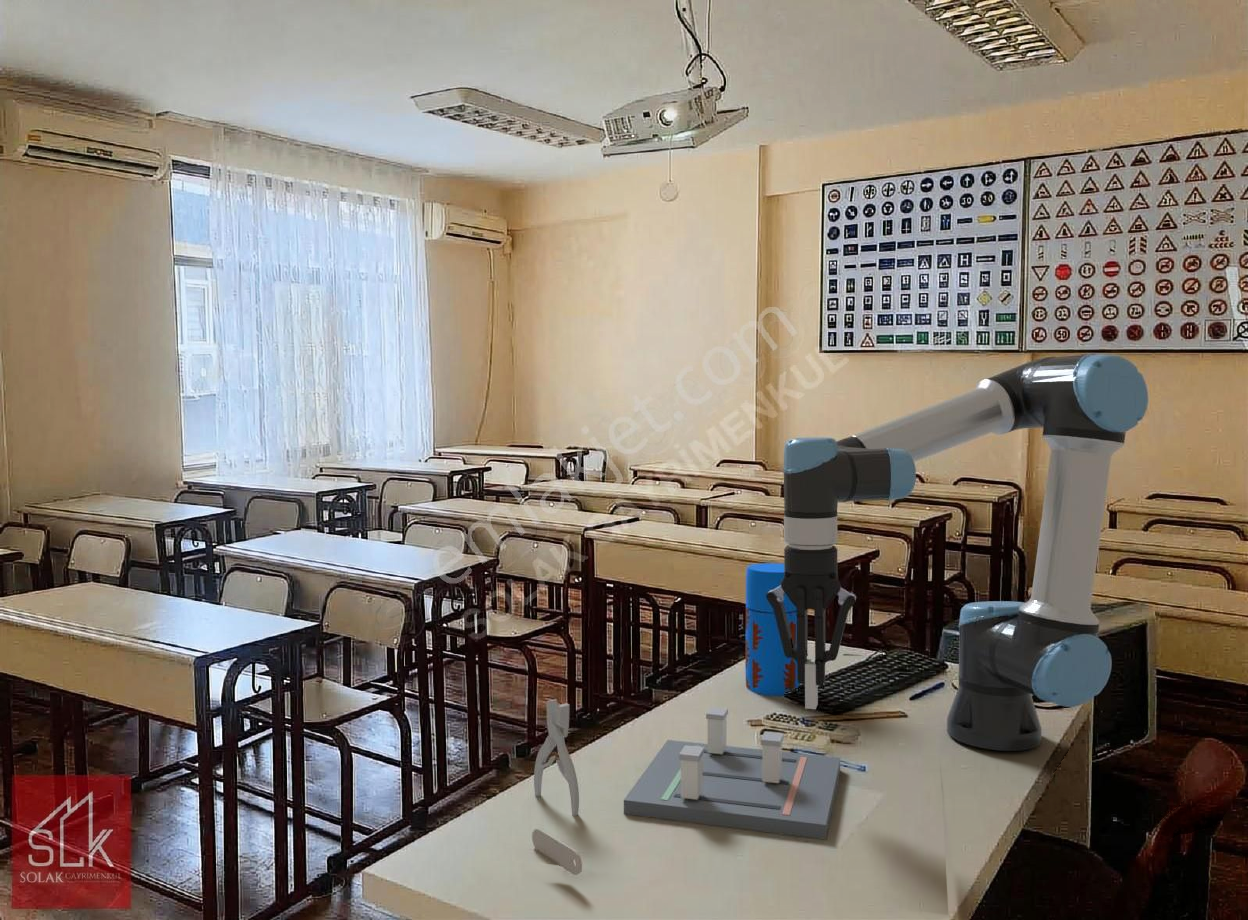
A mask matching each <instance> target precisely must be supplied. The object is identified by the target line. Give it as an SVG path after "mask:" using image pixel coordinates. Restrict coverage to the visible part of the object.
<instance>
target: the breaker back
mask: <svg viewBox="0 0 1248 920" xmlns="http://www.w3.org/2000/svg"><path fill="white" fill-rule="evenodd" d="M728 714H729V708H727V707H718V706H717V707H715V706H710V708H709V709H708V710H707V712H706V714H705V719H706V720H707V744H708V753H715V754H723V752H724V751H725V749H726V746H727V716H728Z"/></svg>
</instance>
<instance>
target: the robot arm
mask: <svg viewBox="0 0 1248 920" xmlns="http://www.w3.org/2000/svg"><path fill="white" fill-rule="evenodd" d="M1148 403H1149V392H1148V385H1147V384H1146V381H1145V378H1144V376H1143V374H1142V373H1141V372H1140V371H1139V370H1138V368H1137V366H1136V365H1135V364H1134V363H1133V362H1132V361H1130V360H1129V359H1127V358H1126V357H1125V358H1124V357H1123V356H1120V355H1117V354H1104V353H1103V354H1102V353H1089V354H1079V355H1066V356H1047V357H1042V358H1038V359H1034V360H1031V361H1028V362H1026V363H1023V364H1021V365H1018V366H1015V367H1013V368H1011V369H1007V370H1006V371H1003V372H1001V373H998V374H996V375H993V376H991V377H987V378H986V379H983V380H980V381H979V382H978V383H977V384H976V386H975V388H974V389H973V390H970V391H969V392H965V393H963V394H960V395H957V396H955V397H952V398H950V399H946V400H944V401H942V402H938V403H936V404H934V405H931V406H928V407H925V408H923V409H920V410H917V411H915V412H912V413H910V414H907V415H904V416H902V417H898V418H896V419H893V420H890V421H888V422H885V423H882V424H880V425H877V426H874V427H871V428H869V429H866V430H863V431H861V432H859V433H855V434H853V435H851V436H849V437H845V438H842V439H840V440H836V439H835V438H833V437H825V436H824V437H823V436H822V437H816V436H815V437H814V436H813V437H794V438H791V439H788V440H787V441H786V442H785V445H784V452H783V463H782V464H783V466H782V473H783V496H784V497H783V498H784V499H783V500H784V501H783V504H784V505H783V506H784V511H783V512H784V513H783V514H784V515H783V529H784V530H783V532H784V533H783V541H784V543H786V544H787V545H786V546H785V547H784V548H783V555H784V557H783V558H784V563H783V564H784V577H783V579H782V581H781V585H780V586H779V587H777V588H776V589H772V590H770V591H769V592H768V593H767V595H766V598H767V600H768V602H769V603H770V605H771V606H772V608H773V610H774V614H775V618H776V622H777V626H778V630H779V634H780V638H781V642H782V646H783V650H784V654H785V656H786V657H787V658H792V659H794V660H796V662H797V672H798V683H799V684H800V685H804V705H805V706H804V709H805V710H807V709H808V710H816V709H817V706H818V704H819V694H818V693H819V692H818V686H824V684H825V682H826V663H828V662H833V661H836V659H837V657H838V654H839V650H840V647H841V643H842V640H843V639H842V638H843V634H844V631H845V626H846V624H847V619H848V615H849V611H850V610H851V608H852V607H853V606H854V604H855V602H856V599H857V595H856V593H854V592H850V591H847V590H846V589H844V588H843V587H842V583H841V580H840V577H839V575H838V548H837V547H836V546H835V544H836V543H837V542H838V503H846V502H871V501H872V502H873V501H876V502H877V501H886V502H890V501H892V500H899V499H900V500H901V499H905V498H907V497H908V496H910V494H912V492H913V490H914V488H915V486H916V481H917V478H916V477H917V468H916V464H915V462H918V461H921V460H923V459H926V458H928V457H930V456H934V455H936V454H938V453H941V452H943V451H947V450H949V449H952V448H954V447H956V446H959V445H962V444H965V443H967V442H970V441H972V440H975V439H977V438H980V437H983V436H986V435H988V434H990V433H991V434H992V433H993V434H996V435H998V436H999V435H1004V434H1008V433H1011V432H1014V431H1018V430H1022V429H1034V428H1035V429H1036V428H1037V429H1038V428H1039V429H1040V428H1042V435H1041V437H1042V439H1043V440H1044V441H1045V443H1046V444H1047V445H1048V447H1049V448H1050V455H1049V461H1048V468H1047V469H1048V470H1047V478H1046V483H1045V490H1044V491H1045V492H1044V497H1043V498H1044V499H1043V506H1042V507H1043V508H1042V513H1041V514H1042V515H1041V519H1040V520H1041V521H1040V527H1039V528H1040V529H1039V535H1038V543H1037V549H1036V557H1035V567H1034V573H1033V581H1032V586H1031V596H1030V598H1029V600H1027V601H1025V602H1023V601H1011V600H1010V601H1009V600H1008V601H1007V600H1006V601H1004V600H1001V601H1000V600H999V601H997V600H996V601H995V600H993V601H975V602H969V603H966V604H964V605H963V607H961V609H960V615H959V620H958V629H959V630H958V632H959V633H958V637H959V638H958V688H957V690H956V694H955V696H954V698H953V701H952V704H951V707H950V709H949V712H948V715H947V719H946V731H947V732H946V733H947V734H948V735H949V736H950V737H951V738H953V739H954V740H956V741H958V742H960V743H962V744H966V745H968V746H973V747H977V748H980V749H988V750H992V751H993V750H994V751H1006V752H1008V751H1011V752H1012V751H1013V752H1014V751H1024V750H1025V751H1026V750H1031V749H1035V748H1036V747H1038V746H1039V745H1040V744H1041V743H1042V734H1043V733H1042V725H1041V722H1040V718H1039V716H1038V713H1037V709H1036V706H1035V703H1034V700H1033V696H1035V697H1037V698H1038V699H1039V700H1042V701H1043V702H1047V703H1052V704H1056V705H1058V706H1060V707H1061V706H1062V707H1068V708H1069V707H1071V708H1073V707H1079V706H1083V705H1085V704H1087V703H1089V702H1091V701H1092V700H1093V698H1094V697H1096V696H1098V695H1099V694H1100V693H1102V690H1103V689H1104V688H1105V686H1106V685H1107V683H1108V680H1109V678H1110V675H1111V671H1112V665H1113V664H1112V663H1113V662H1112V655H1111V653H1110V650H1108V647H1107V645H1106V643H1105V642H1104V641H1103V640H1102V639H1100V638H1099V629H1100V619H1098V617H1097V616H1096V615H1095V614H1094V612H1093V611H1092V609H1091V606H1092V602H1093V601H1092V600H1093V591H1094V586H1095V585H1094V584H1095V578H1096V572H1097V571H1096V570H1097V563H1098V555H1099V551H1100V549H1099V548H1100V542H1101V536H1102V535H1101V533H1102V525H1103V519H1104V511H1105V505H1106V499H1107V498H1106V497H1107V491H1108V490H1107V488H1108V482H1109V475H1110V470H1111V469H1110V468H1111V461H1112V456H1113V454H1115V453H1116V452H1117V451H1119V450H1121V448H1123V447H1124V446H1125V440H1126V434H1127V432H1128V431H1130V430H1132V429H1134V428H1136V427H1137V426H1138V425H1139V421H1142V420H1143V418H1144V416H1145V415H1146V412H1147V410H1148V409H1147V408H1148V405H1149V404H1148ZM784 592H785V593H786V595H787V596H788V598H789V599H790V600H791V602H792V603H793V605H794V606H795V607H796V616H797V649H796V648H795V647H794V643H793V639H792V635H791V631H790V627H789V623H788V619H787V615H786V611H785V607H784V604H783V600H784ZM836 596H838V600H837V601H838V605H839V606H840V608H839V610H838V613H837V617H836V621H835V626H834V631H833V633H832V638H831V642H830V646H829V650H828V649H827V650H826V611H827V610H826V608H828V607H829V606H830V604H831V603H832V602H833V600H834V599H835V598H836ZM809 610H813V611H814V659H812V658H811V659H810V658H808V655H809V653H808V613H809ZM1032 695H1033V696H1032Z"/></svg>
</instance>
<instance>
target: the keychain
mask: <svg viewBox="0 0 1248 920" xmlns="http://www.w3.org/2000/svg"><path fill="white" fill-rule="evenodd" d="M531 840H532V844H533V846H534V849H535V850H536V851H538V852H539V853H542V854H543V855H545V856H546V857H548V858H549V859H551V860H552V861H554V862H556V863H557V864H558V865H559V866H560V867H561V868H562V869H565V870H566V871H568V872H569V873H571V874H572V875H575V876H577V875H579V874H581V873H582V870H583V862H582V858H581V855H580V854H579V852H578V851H577V849H574V848H573V847H571V846H569V845H568V844H566V843H565V842H563V841H562V840H560V839H558V838H556V837H554V836H553V835H551V834H549V833H547V832H546V831H545V830H543V829H541V828H535V829H533V831H532V834H531Z"/></svg>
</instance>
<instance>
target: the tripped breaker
mask: <svg viewBox="0 0 1248 920" xmlns="http://www.w3.org/2000/svg"><path fill="white" fill-rule="evenodd" d="M784 734H785V733H783V732H774V731H764V732H763V734H762V737H761V739H760V745H761V746H762V750H763V755H762V781H763V782H772V783H779V781H780V779H781V776H782V752H783V741H784V739H785V737H784Z"/></svg>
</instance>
